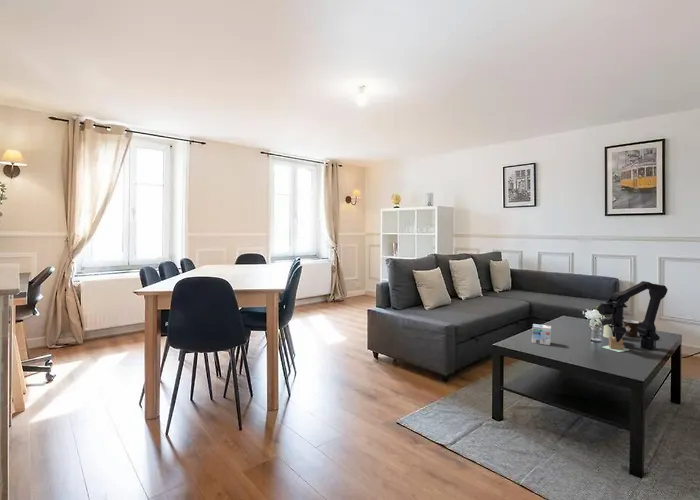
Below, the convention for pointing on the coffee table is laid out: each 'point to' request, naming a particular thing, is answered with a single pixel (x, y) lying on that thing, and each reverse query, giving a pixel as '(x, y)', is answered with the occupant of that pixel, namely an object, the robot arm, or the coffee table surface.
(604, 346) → the mat
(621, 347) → the letter cube
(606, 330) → the can
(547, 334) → the light bulb box
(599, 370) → the coffee table surface
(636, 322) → the coffee mug
